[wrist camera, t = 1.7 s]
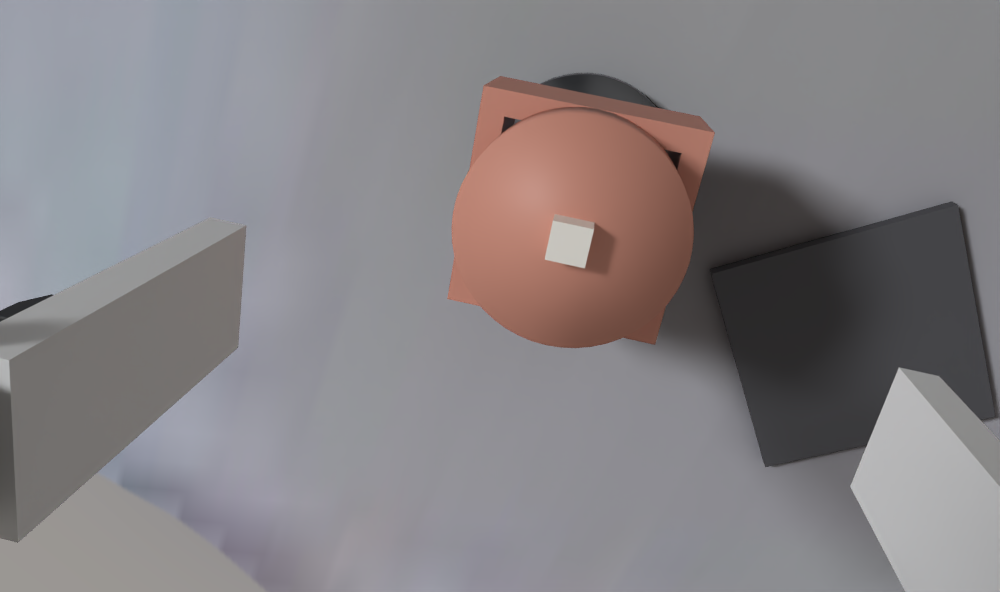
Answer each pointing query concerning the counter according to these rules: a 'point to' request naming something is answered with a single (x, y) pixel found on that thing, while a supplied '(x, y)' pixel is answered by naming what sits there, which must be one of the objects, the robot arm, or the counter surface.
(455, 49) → the counter surface
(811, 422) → the dark grey square plate
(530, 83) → the cap
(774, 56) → the counter surface
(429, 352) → the counter surface
